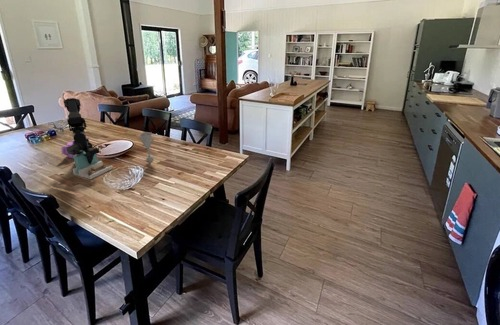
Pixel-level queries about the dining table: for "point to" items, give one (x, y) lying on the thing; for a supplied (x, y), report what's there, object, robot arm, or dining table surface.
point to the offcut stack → (96, 169)
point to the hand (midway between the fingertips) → (87, 163)
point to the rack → (85, 170)
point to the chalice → (147, 143)
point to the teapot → (66, 150)
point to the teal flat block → (83, 161)
